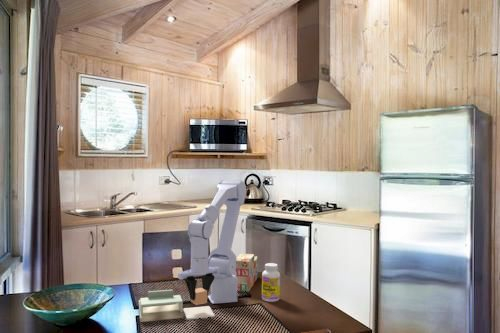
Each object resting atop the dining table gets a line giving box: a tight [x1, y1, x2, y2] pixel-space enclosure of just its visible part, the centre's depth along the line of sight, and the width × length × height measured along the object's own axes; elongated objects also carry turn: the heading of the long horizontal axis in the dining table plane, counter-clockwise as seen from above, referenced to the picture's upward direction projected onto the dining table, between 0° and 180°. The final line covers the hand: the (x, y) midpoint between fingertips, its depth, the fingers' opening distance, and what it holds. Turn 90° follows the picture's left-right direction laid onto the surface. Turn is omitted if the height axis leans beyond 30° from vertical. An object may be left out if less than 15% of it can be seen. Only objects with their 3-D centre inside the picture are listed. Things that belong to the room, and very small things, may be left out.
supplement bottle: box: [261, 262, 281, 303], centre depth 145 cm, size 7×7×13 cm
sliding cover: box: [139, 289, 184, 316], centre depth 128 cm, size 13×6×6 cm, turn 108°
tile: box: [183, 305, 216, 321], centre depth 129 cm, size 9×9×1 cm
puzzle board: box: [138, 299, 185, 323], centre depth 132 cm, size 13×17×1 cm
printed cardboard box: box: [233, 253, 259, 293], centre depth 163 cm, size 21×6×12 cm, turn 169°
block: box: [190, 287, 208, 306], centre depth 129 cm, size 4×4×4 cm
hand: (198, 297), depth 129 cm, fingers closed on block, 4 cm apart
